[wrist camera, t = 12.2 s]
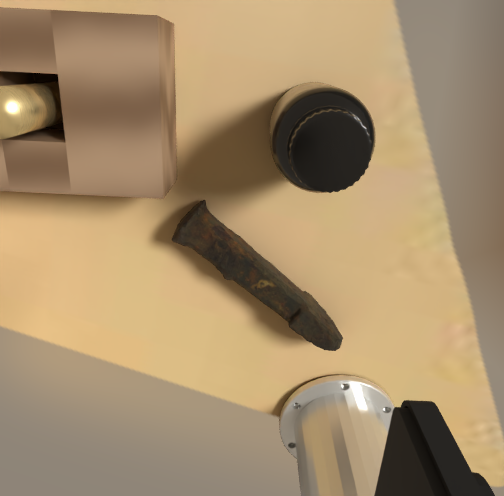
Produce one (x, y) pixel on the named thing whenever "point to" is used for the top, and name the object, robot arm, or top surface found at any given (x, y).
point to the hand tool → (256, 276)
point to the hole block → (93, 103)
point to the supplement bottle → (321, 137)
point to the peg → (29, 108)
